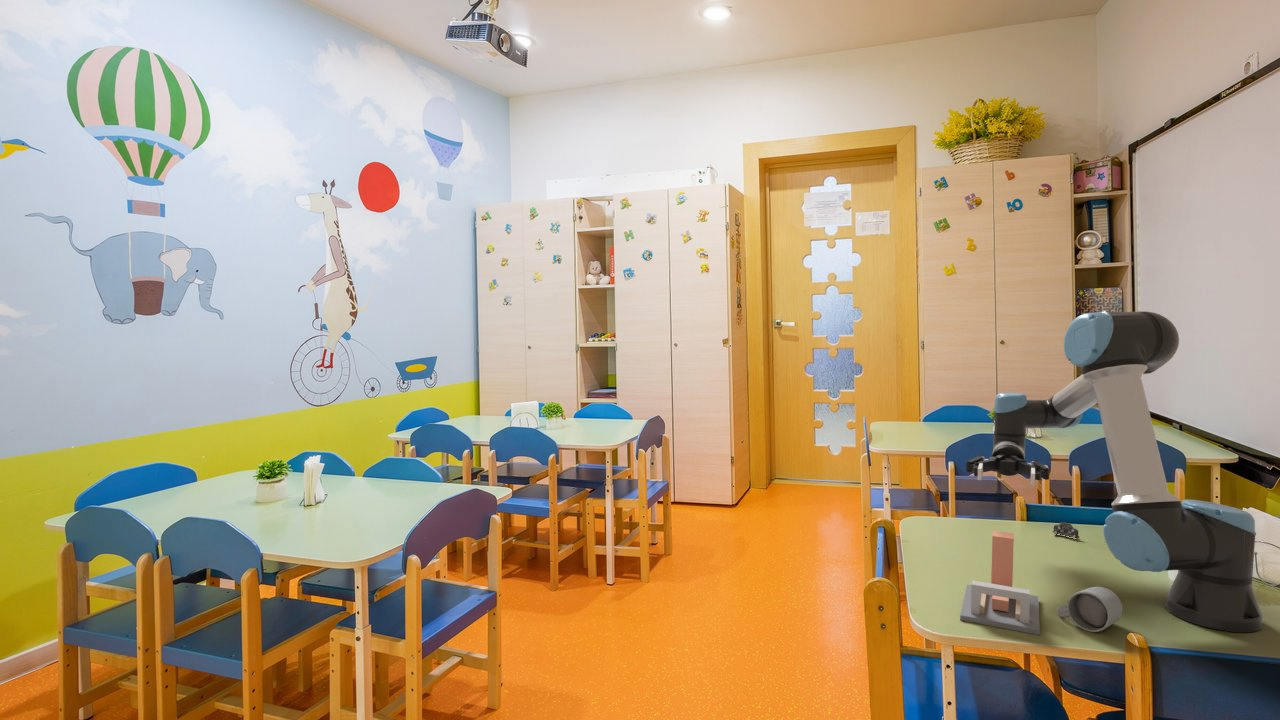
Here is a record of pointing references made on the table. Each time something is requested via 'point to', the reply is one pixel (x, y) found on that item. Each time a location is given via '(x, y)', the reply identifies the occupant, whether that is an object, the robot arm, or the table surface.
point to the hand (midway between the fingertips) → (1005, 477)
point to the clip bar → (1002, 566)
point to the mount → (980, 610)
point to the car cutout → (1066, 530)
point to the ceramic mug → (1093, 608)
